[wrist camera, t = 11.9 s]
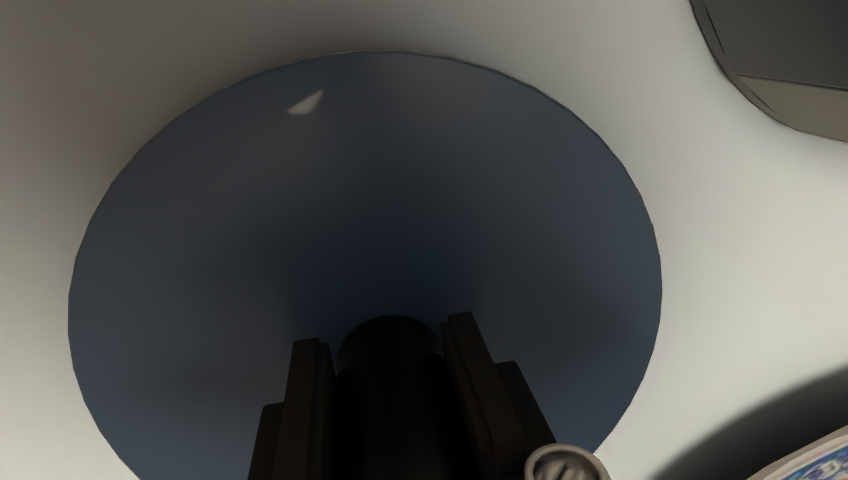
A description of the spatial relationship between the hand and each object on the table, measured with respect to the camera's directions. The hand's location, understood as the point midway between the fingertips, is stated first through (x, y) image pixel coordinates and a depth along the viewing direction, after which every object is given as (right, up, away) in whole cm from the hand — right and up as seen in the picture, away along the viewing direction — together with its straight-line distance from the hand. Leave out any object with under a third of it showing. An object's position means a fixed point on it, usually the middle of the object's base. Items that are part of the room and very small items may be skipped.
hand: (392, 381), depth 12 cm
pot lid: (0, +1, +1) cm, 1 cm away
